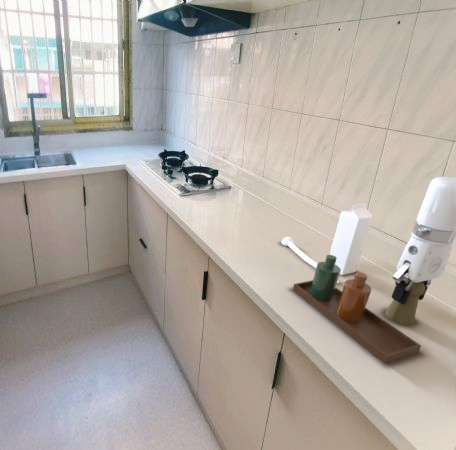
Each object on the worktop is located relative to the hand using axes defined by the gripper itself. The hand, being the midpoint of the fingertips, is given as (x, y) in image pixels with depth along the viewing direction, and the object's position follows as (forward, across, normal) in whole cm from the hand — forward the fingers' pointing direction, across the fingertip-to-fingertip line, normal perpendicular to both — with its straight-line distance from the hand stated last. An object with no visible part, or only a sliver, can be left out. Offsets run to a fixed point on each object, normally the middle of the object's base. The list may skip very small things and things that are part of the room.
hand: (406, 298), depth 83 cm
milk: (+6, +5, +23) cm, 24 cm away
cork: (+6, 0, 0) cm, 6 cm away
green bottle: (+5, -13, +13) cm, 19 cm away
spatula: (+6, -1, +30) cm, 31 cm away
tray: (+6, -13, +4) cm, 15 cm away
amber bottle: (+5, -13, +4) cm, 15 cm away
